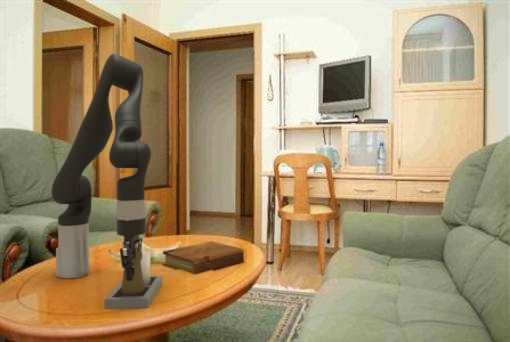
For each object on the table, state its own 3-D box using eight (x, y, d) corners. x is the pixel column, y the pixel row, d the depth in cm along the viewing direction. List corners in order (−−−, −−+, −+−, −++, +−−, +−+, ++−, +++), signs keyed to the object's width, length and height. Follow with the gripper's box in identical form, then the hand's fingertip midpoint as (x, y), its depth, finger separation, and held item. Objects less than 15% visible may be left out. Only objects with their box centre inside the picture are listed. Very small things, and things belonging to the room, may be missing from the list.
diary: (194, 278, 130) (194, 261, 130) (162, 267, 143) (162, 251, 143) (243, 263, 147) (243, 248, 147) (211, 254, 160) (211, 240, 160)
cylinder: (126, 293, 112) (126, 255, 112) (132, 286, 118) (132, 250, 118) (148, 293, 113) (147, 255, 112) (152, 286, 119) (152, 249, 118)
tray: (104, 310, 101) (104, 299, 101) (126, 286, 120) (125, 276, 120) (147, 310, 102) (147, 298, 102) (162, 285, 121) (162, 275, 121)
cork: (131, 295, 102) (130, 253, 102) (116, 290, 106) (115, 250, 105) (149, 288, 107) (148, 248, 107) (134, 284, 111) (133, 245, 110)
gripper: (124, 212, 113) (125, 272, 113) (108, 220, 98) (109, 288, 99) (151, 212, 113) (151, 271, 114) (138, 220, 99) (139, 288, 100)
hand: (132, 279), depth 106 cm, fingers closed on cork, 3 cm apart
